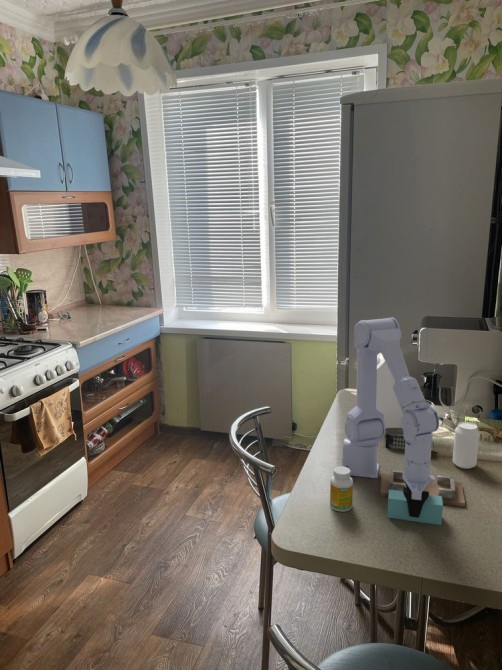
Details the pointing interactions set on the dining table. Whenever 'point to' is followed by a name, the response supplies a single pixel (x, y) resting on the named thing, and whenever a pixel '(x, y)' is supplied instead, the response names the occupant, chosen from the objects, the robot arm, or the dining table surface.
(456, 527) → the dining table surface
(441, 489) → the wooden bracket tray
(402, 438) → the mobile phone
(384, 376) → the milk
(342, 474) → the supplement bottle
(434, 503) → the teal rectangular block
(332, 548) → the dining table surface
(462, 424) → the beverage can
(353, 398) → the dining table surface
